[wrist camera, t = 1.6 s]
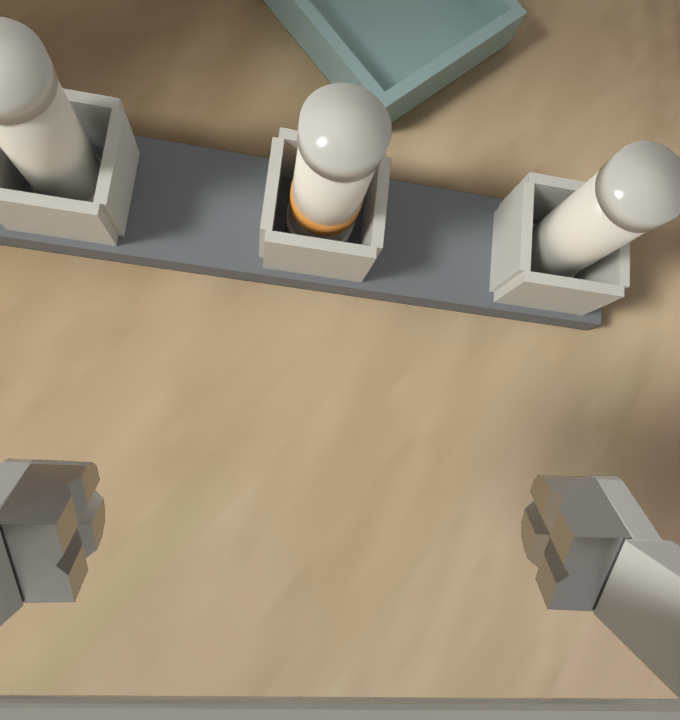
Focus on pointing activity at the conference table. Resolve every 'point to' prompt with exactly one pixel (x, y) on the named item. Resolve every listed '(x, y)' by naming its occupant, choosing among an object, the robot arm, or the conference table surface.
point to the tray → (399, 42)
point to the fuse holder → (297, 252)
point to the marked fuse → (335, 159)
